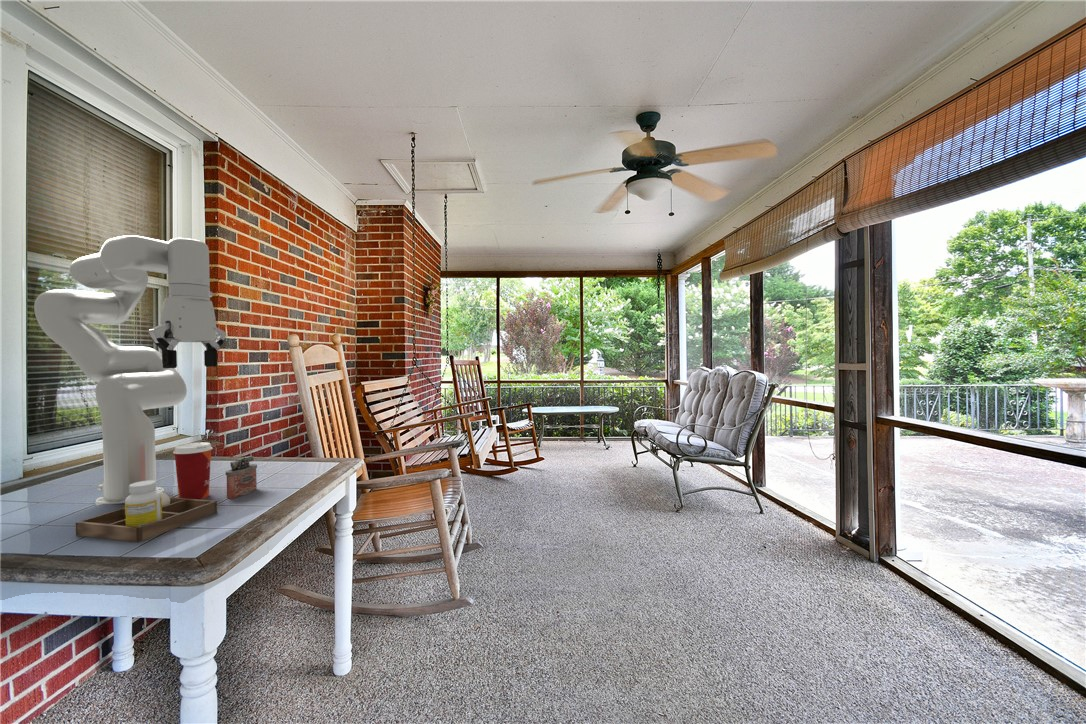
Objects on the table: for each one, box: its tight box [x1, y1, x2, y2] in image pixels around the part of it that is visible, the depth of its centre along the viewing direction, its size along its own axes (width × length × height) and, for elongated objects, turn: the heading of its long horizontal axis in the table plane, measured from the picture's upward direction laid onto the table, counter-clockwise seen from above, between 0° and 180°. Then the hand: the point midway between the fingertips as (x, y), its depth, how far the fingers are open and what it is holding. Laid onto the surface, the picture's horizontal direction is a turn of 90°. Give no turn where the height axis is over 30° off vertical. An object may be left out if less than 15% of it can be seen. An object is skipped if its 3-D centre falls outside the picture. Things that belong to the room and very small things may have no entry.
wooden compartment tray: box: [75, 496, 218, 543], centre depth 93 cm, size 16×16×4 cm
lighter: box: [225, 455, 258, 499], centre depth 112 cm, size 8×3×10 cm, turn 168°
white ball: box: [160, 492, 171, 507], centre depth 97 cm, size 5×5×5 cm
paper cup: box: [172, 441, 214, 500], centre depth 109 cm, size 8×8×14 cm
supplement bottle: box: [124, 480, 162, 527], centre depth 88 cm, size 5×5×10 cm
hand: (191, 367), depth 103 cm, fingers open, 9 cm apart
